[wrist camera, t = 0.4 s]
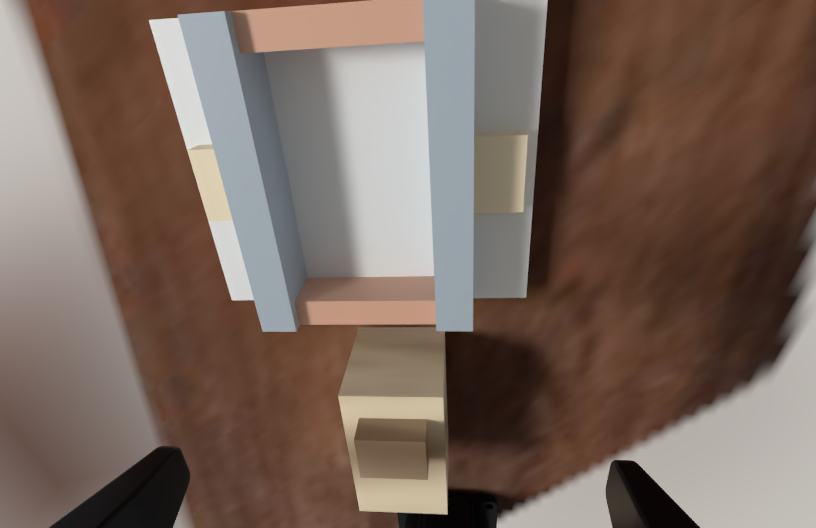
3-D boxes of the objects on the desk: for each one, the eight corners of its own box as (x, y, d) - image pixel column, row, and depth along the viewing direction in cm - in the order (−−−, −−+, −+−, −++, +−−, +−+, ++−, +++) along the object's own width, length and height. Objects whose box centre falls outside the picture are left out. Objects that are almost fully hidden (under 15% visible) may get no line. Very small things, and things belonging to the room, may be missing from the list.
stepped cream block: (448, 434, 27) (447, 538, 22) (374, 432, 28) (355, 534, 22) (444, 325, 23) (442, 419, 18) (359, 326, 24) (331, 417, 18)
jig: (522, 284, 22) (535, 331, 18) (241, 287, 23) (207, 331, 20) (542, -10, 16) (565, -16, 13) (167, 20, 17) (101, 20, 14)
